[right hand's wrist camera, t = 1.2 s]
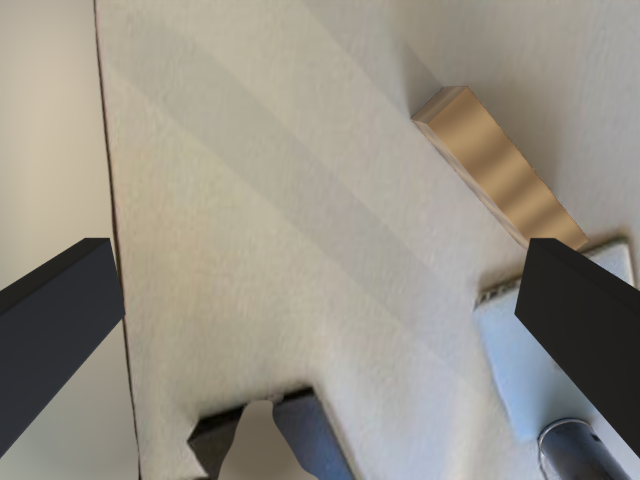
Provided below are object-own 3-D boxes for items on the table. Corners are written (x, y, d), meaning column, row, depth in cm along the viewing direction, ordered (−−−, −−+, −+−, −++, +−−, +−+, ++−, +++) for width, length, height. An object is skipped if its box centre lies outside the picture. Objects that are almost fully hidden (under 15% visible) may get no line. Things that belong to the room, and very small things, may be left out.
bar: (410, 118, 50) (426, 124, 42) (443, 86, 48) (467, 85, 40) (518, 244, 56) (550, 268, 48) (551, 218, 54) (589, 240, 47)
